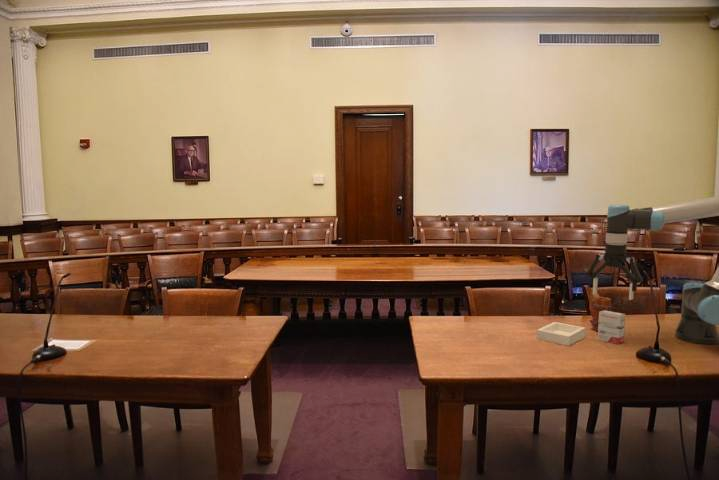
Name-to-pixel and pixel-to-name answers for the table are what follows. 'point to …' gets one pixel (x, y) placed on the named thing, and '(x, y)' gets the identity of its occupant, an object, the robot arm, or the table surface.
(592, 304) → the mug
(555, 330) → the tray
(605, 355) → the table surface
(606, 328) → the ink box
